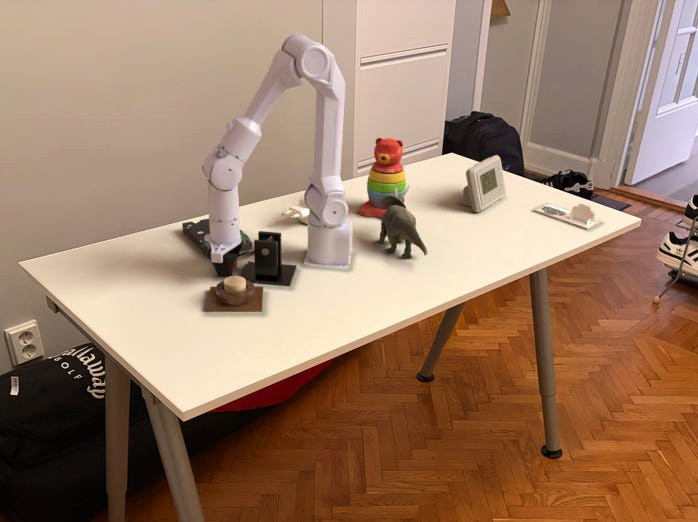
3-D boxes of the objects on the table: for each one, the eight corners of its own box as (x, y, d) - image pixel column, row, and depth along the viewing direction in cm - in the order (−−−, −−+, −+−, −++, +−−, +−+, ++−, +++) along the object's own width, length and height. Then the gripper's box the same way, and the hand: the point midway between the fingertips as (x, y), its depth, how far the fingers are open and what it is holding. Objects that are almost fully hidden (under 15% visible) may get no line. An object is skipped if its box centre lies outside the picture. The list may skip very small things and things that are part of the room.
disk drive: (182, 234, 159) (208, 260, 149) (180, 223, 158) (207, 248, 147) (225, 226, 164) (254, 251, 154) (224, 214, 163) (253, 238, 152)
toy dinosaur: (428, 271, 151) (434, 221, 144) (389, 273, 149) (393, 222, 143) (402, 228, 168) (406, 182, 162) (367, 230, 167) (370, 183, 160)
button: (246, 284, 135) (246, 275, 134) (245, 294, 132) (245, 285, 131) (225, 284, 135) (224, 275, 134) (223, 294, 132) (223, 285, 131)
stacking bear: (355, 214, 174) (359, 141, 164) (371, 201, 182) (375, 130, 172) (397, 223, 171) (403, 149, 161) (411, 209, 179) (418, 137, 169)
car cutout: (600, 222, 178) (604, 205, 176) (587, 229, 174) (591, 212, 171) (547, 204, 186) (551, 188, 184) (534, 211, 182) (537, 194, 180)
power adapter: (293, 233, 163) (293, 208, 160) (279, 226, 165) (278, 202, 162) (328, 220, 170) (329, 197, 167) (314, 214, 172) (314, 191, 169)
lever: (224, 275, 143) (216, 262, 142) (228, 268, 146) (220, 255, 144) (276, 253, 140) (268, 239, 138) (279, 246, 142) (271, 232, 141)
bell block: (263, 293, 139) (262, 277, 137) (262, 314, 132) (261, 297, 130) (210, 293, 138) (209, 276, 136) (207, 314, 131) (205, 297, 129)
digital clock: (476, 215, 177) (482, 174, 171) (448, 204, 182) (453, 163, 177) (515, 201, 187) (522, 161, 181) (487, 190, 192) (494, 151, 186)
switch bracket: (239, 284, 141) (237, 243, 136) (248, 266, 148) (246, 226, 143) (290, 288, 141) (289, 247, 136) (296, 270, 148) (296, 230, 143)
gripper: (213, 200, 144) (216, 262, 152) (193, 229, 132) (198, 294, 140) (248, 203, 144) (250, 265, 151) (231, 233, 132) (234, 298, 139)
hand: (227, 279), depth 145 cm, fingers closed on lever, 3 cm apart
